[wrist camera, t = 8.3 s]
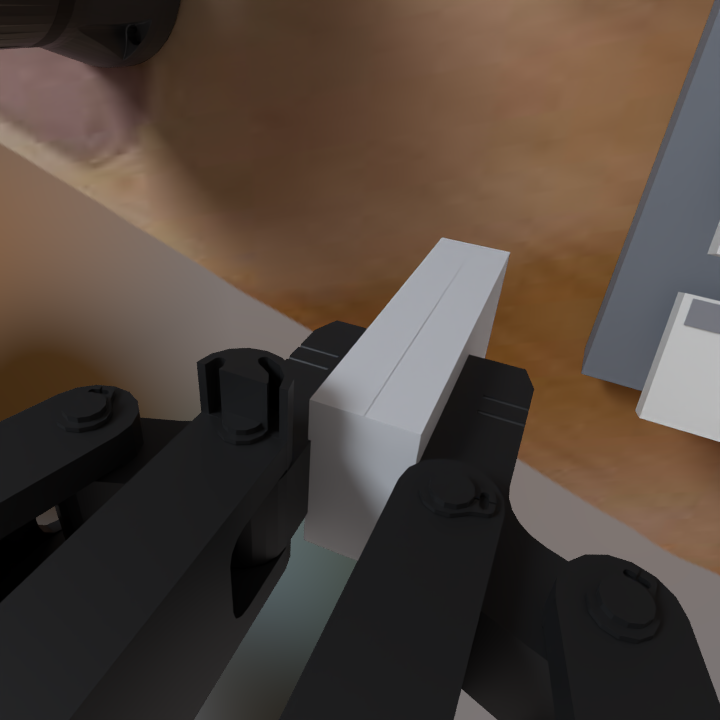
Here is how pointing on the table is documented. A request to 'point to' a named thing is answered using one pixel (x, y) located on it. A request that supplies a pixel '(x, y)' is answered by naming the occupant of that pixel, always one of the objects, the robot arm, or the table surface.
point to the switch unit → (667, 230)
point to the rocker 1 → (686, 370)
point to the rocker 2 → (715, 243)
